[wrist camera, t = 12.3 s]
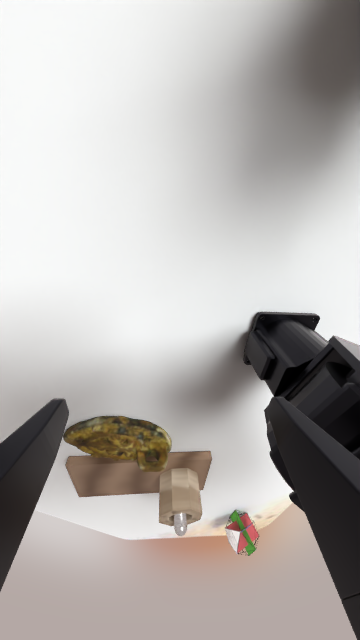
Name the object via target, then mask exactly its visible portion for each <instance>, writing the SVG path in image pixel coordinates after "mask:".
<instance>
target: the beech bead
mask: <svg viewBox="0 0 360 640" xmlns="http://www.w3.org/2000/svg"><path fill="white" fill-rule="evenodd" d="M183 513H186V521H187V525H188V524H190V523H193V522H196V521H198V520H200V519H201V515H202V507H201V499H200V491H199V483H198V475H197V473H196V472H194V471H192V470H190V469H188V468H177V469H170V470H168V471H166V472H164V473H162V474H161V475H160V496H159V523H162V524H165V525H169V526H174V515H175V514H183Z"/></svg>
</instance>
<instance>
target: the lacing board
mask: <svg viewBox="0 0 360 640" xmlns="http://www.w3.org/2000/svg"><path fill="white" fill-rule="evenodd" d="M146 460H147V461H158V460H157V459H156V458H155V457H153V456H150V457H147V458H146ZM211 461H212V457H211V452H210V451H202V452H175V453H168V462H167V465H166V467H165V469H164V470H163V471H161V472H143V471H142V470H140V468H139V467H138V464H137V460H135V461H132V460H119V461H114V459H112V458H106V457H103V458H102V457H100V458H93V457H91V456H71V457H69V458H68V460H67V463H66V465H65V466H66V468H67V470H68V473H69V475H70V477H71V480H72V482H73V484H74V486H75V489H76V491H77V493H78V496H79V497H90V496H107V495H125V494H142V493H159V492H160V475H161V474H162V473H164V472H166V471H168V470H170V469H177V468H188V469H190V470H192V471H194V472H196V473H197V475H198V483H199V490H203V488H204V485H205V481H206V478H207V474H208V471H209V468H210V464H211Z"/></svg>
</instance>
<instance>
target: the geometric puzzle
mask: <svg viewBox="0 0 360 640" xmlns="http://www.w3.org/2000/svg"><path fill="white" fill-rule="evenodd" d="M236 511H238V510H235V511H234V513H233V514H232V515H231V516H230V518H231V520H232V522H233V523H232V524H230V525H229V526H227V527H225V529H226V533H227V537H228V541H229V543H230V544H231V546H232V548H233V549H234V550H235V552H236V554H239V552H240V551H241V550H242V549H243V548H246V551H247V552H248V556H249V555H250V554H251V553H253V552H254V551H255V550H256V548H255V547H254V545H255V544H254V545H253V543H252V541H253V540H255V539H256V538H257V537H259V535H258V533H257V531H256V529H257V528H256V529H255V526H253V524H252V522H251V520H250V518H251V517H250V518H249V516H248V514H247V513H245V512H244V514H245V515H243V516H242V517H239V515H238V513H237V512H236ZM239 513H240V512H239ZM240 515H242V514H240ZM230 518H229V519H230ZM228 521H229V520H228ZM252 521H253V520H252ZM228 523H229V522H228ZM255 543H256V542H255Z"/></svg>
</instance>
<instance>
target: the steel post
mask: <svg viewBox="0 0 360 640" xmlns="http://www.w3.org/2000/svg"><path fill="white" fill-rule="evenodd" d="M174 529H175V532H176V534H177V535H179V536H183V535H184V534H185V533H186V530H187V521H186V513H183V514H175V515H174Z"/></svg>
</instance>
